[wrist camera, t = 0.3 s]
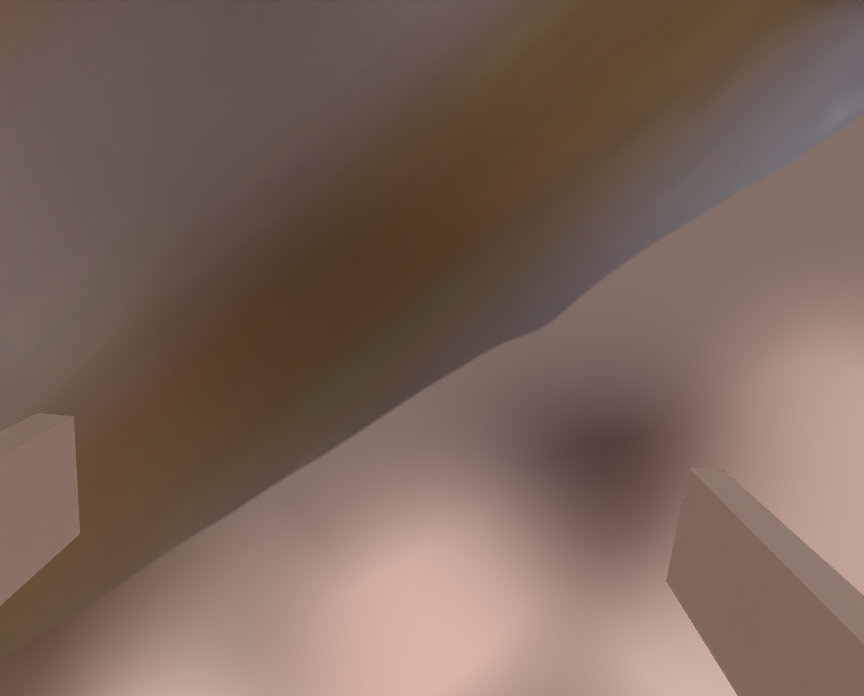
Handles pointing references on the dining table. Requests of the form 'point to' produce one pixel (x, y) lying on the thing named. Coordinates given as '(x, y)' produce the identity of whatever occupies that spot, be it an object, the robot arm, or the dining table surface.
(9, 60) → the dining table surface
